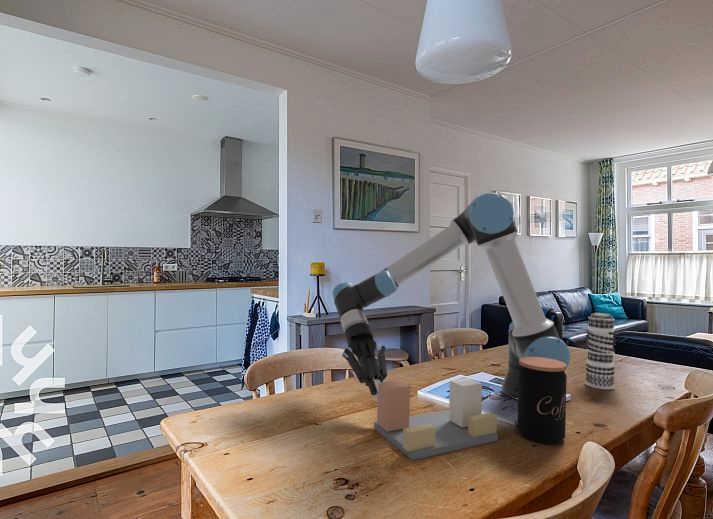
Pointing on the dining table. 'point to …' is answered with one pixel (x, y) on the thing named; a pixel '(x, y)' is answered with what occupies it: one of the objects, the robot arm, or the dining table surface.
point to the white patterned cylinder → (600, 351)
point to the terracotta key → (393, 405)
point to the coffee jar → (542, 399)
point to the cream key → (464, 400)
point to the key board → (440, 434)
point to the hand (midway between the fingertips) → (383, 405)
